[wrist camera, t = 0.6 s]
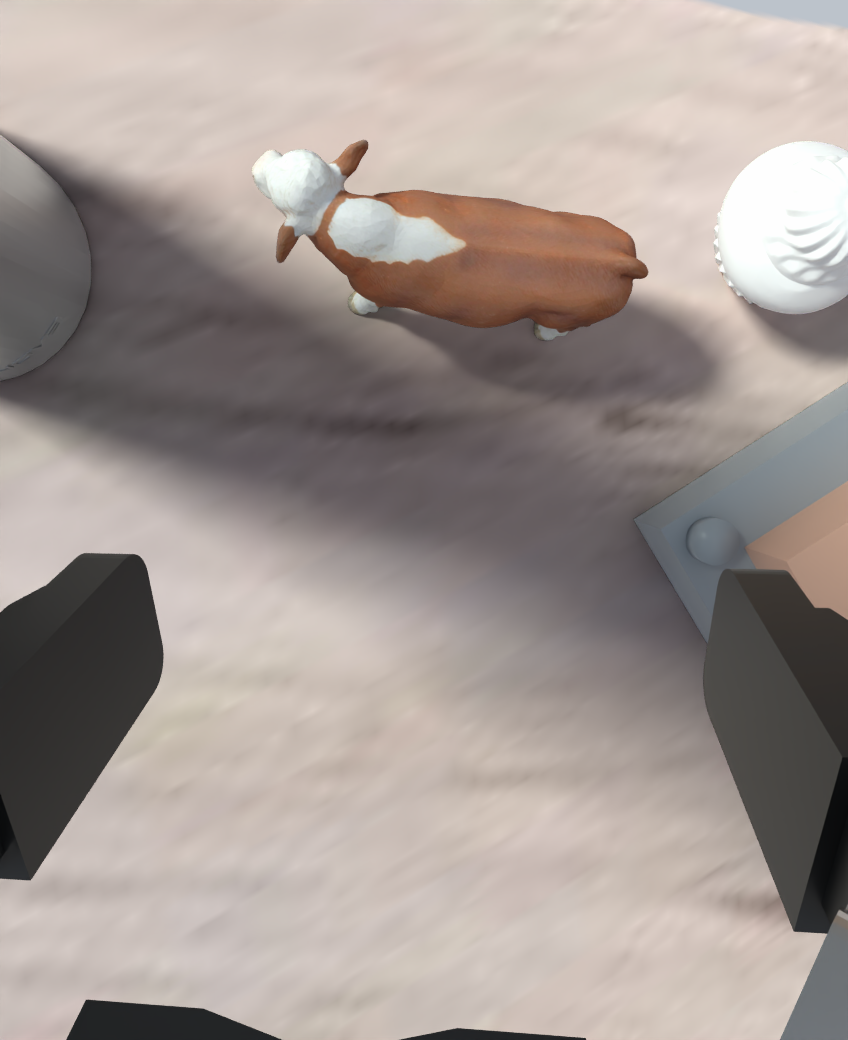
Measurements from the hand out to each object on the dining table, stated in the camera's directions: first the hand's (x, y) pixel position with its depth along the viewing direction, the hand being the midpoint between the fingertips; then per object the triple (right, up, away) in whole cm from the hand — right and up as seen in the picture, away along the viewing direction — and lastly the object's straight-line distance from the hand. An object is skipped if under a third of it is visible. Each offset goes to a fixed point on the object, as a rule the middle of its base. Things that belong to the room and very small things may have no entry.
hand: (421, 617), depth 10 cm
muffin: (+14, +13, +21) cm, 28 cm away
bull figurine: (0, +11, +20) cm, 23 cm away
